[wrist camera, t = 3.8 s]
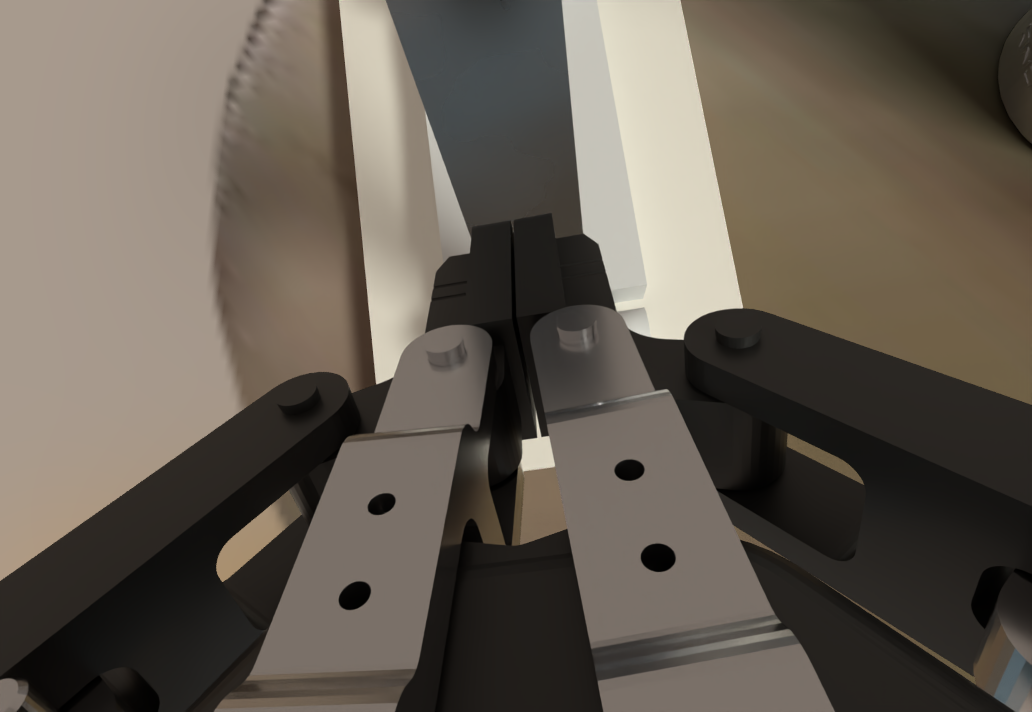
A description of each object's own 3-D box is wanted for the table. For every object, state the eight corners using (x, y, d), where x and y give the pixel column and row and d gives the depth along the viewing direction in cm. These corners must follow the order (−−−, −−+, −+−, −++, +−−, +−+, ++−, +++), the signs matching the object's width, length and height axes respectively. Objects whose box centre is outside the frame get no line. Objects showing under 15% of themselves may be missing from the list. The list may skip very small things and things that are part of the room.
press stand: (657, -57, 33) (674, -189, 27) (757, 439, 29) (806, 430, 22) (351, 6, 35) (293, -104, 28) (400, 488, 30) (345, 493, 23)
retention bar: (532, -258, 9) (543, -213, 9) (590, 332, 26) (594, 360, 26) (327, -208, 10) (325, -163, 9) (515, 344, 26) (518, 371, 26)
